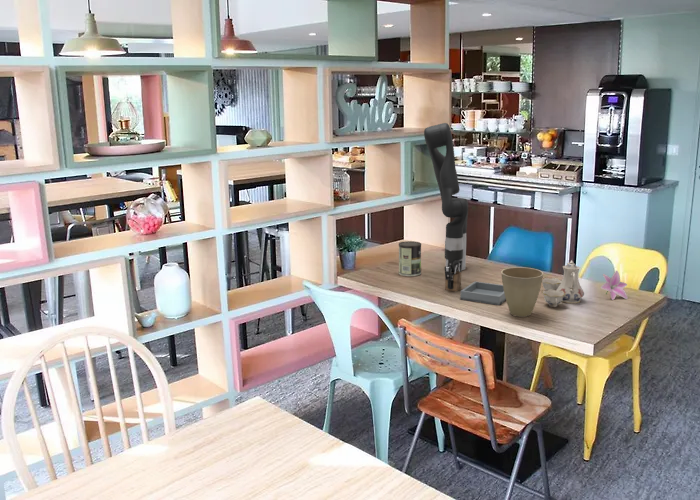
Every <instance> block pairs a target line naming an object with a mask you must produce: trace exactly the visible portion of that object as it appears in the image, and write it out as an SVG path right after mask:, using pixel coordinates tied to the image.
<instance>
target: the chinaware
mask: <svg viewBox="0 0 700 500" xmlns="http://www.w3.org/2000/svg"><path fill="white" fill-rule="evenodd" d="M562 268H563V274H562V275H563V277H562V280H560V279H559V278H558V277H557V278H556V277H552V278H549V277H544V278H542V283H541V285H542V287H543V290H542V291H541V294H542V295H543V299H544V301H545V302H546V303H547V306H549V307H550V308H557V307H558V305H560V303H565V304H578V303H581V299H582V298H583V297H584V296H585V291H584V289H583V288H582V286H581V284H580V280H579V271H580V269H581V267H580V266H577V265H576V263H574V261H573V259H571V260H570V261H569V262H567V263H566V265H562Z"/></svg>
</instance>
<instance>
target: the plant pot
mask: <svg viewBox="0 0 700 500" xmlns="http://www.w3.org/2000/svg"><path fill="white" fill-rule="evenodd" d="M500 273H501V280H502V283H501V284H502V285H503V289H504V293H505V298H506V300H505V301H506V304H507V307H508V310H509V313H510V315H512V316H514V317H520V318H523V317H525V318H526V317H530V316H531V314H532V312H533V310H534V308H535V306H536V304H537V301H538V297H539V294H540V291H541V287H542V280H543V276H544V272H543V271H541V270H540V269H537V268H533V267H532V268H531V267H525V266H524V267H523V266H522V267H521V266H519V267H518V266H517V267H508V268H504V269H502V270H501V272H500Z"/></svg>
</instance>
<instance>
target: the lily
mask: <svg viewBox="0 0 700 500" xmlns="http://www.w3.org/2000/svg"><path fill="white" fill-rule="evenodd" d="M602 276H603V278H604V280H605V282H604V283H603V284H602V285H601V286H600V289H602V290H604V291H606V292H605V295H607V294H608V293H609V294H610V298H611V301H614V300H615V298H616V297H617V296H619V297H622V298H623V299H625V300H628V299H629V298H628V295H627V293H626V291H625V290H624V289H625V288H626V287H627V286H628V284H627V283H626V282H624V281H621V277H620V272H619V271H618V270H615V272H614V273H613V275H611V277H610V276H609V275H606V274H604V273H603V274H602Z"/></svg>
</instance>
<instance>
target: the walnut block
mask: <svg viewBox="0 0 700 500" xmlns="http://www.w3.org/2000/svg"><path fill="white" fill-rule="evenodd" d="M451 273H453V272H451ZM447 276H448V275H447ZM449 277H450V276H449ZM444 279H445V278H444ZM444 283H445V284H444V286H445V289H444V290H445V291H450V292H451V291H452V292H458V291H460V290H462V271H461V272H456V274H455V275H454V280H453V289H448V280H446V279H445V282H444Z"/></svg>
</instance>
